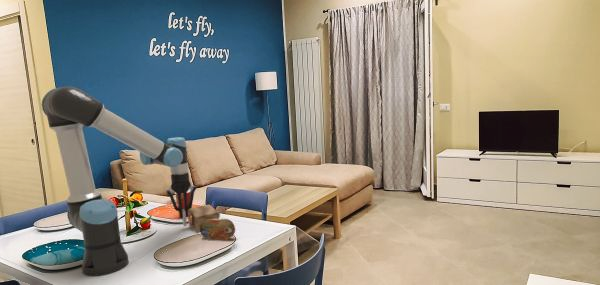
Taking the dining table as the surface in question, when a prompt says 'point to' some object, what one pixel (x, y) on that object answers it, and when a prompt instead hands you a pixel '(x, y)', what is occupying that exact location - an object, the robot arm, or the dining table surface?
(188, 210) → the paper cup
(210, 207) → the hitch block
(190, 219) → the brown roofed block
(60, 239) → the dining table surface
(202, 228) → the mottled brown rounded block
